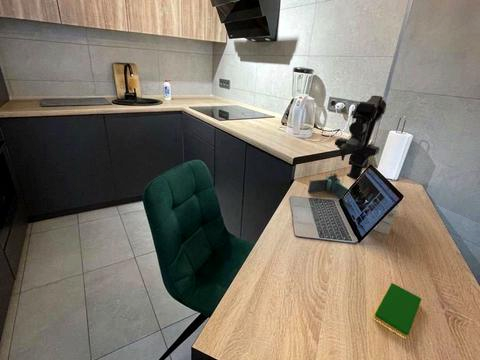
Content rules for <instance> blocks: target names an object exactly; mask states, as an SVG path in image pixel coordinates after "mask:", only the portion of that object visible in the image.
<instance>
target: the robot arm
mask: <svg viewBox="0 0 480 360" xmlns="http://www.w3.org/2000/svg"><path fill="white" fill-rule="evenodd" d="M386 111H387V102H386V101H385V100H384V97H382V96H381V95H371V97H370V98H369V99H368V100H367V101H360V102H359V103H358V104H357V106H356V108H355V110H354V113H353V115H352V119H355V121H354V122H352V123H351V124H350V126H348V127H349V128H348V130H349V133H350V134H351V135H350V137H349V138H348V139H347V138H343V137H340V138H337V139H336V140H335V142H334V146H336V148H338V150H339V152H340V156H341V161H342V162H343V161H344V160H345V158H346V154H347V150H351V151H352V153H351V154H350V155H349V158H348V165H350V166H351V167H350V170H349V172H348V173H347V174H346V176H347V177H350V178H354V179H356V180H358V179H357V178H358V177H359V176H360V175H362V172H363V169H368V166H369V161H370V160H369V158H370V157H373V156H376V155H377V154H379V153H380V147H379V146H375V145H369V144H370V141H371V140H372V139H371V138H372V136H373V133H374V131H375V130H374V129H375V127H376V124H377V122H379V121H380V120H381V119H382V117H383V115H385V113H386Z"/></svg>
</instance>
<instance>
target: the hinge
mask: <svg viewBox="0 0 480 360" xmlns="http://www.w3.org/2000/svg"><path fill="white" fill-rule="evenodd" d="M330 176H331V175H329V176H328V175H327V176H326V177H325V178H324V179H323V178H322V179H311V180H309V183H308V189H307V193H309V194H311V193H317V192H318V193H321V192H326V193H328V194H334V195H335V196H336V197H337V198H339V199H340V198H341V197H342V196H343V195H344V194H345V193H346V192H347V191H348V190H350V189H349V188H347V186H344V185H343V184H342V183H341V179H340V178H339V177H337V178H336V181H332V180H330Z"/></svg>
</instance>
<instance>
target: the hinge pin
mask: <svg viewBox="0 0 480 360" xmlns="http://www.w3.org/2000/svg"><path fill="white" fill-rule="evenodd" d="M329 176H330V180H332V181H336V178H338V175H337V174H335V173H331V174H330V175H329Z"/></svg>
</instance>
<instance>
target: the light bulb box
mask: <svg viewBox="0 0 480 360" xmlns="http://www.w3.org/2000/svg"><path fill="white" fill-rule="evenodd" d="M367 202H368V201H367V200H366V199H365V202H364V204H365V203H367ZM398 207H399V204H398V205H397V206H396V207H395V208H394V209H393V210H392V211H391V212H390V213H389V214H388V215H387V216H386V217H385V218H384V219H383V220H382V221H381V222H380V223H379V224H378V225H377V227H376V228H375V229H374V230H373V231H376V232H378V233H382V234H384V235H388V236H389V235H390V232H391V229H392V227H393V223H394V220H395V219H396V215H397V212H398Z"/></svg>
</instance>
